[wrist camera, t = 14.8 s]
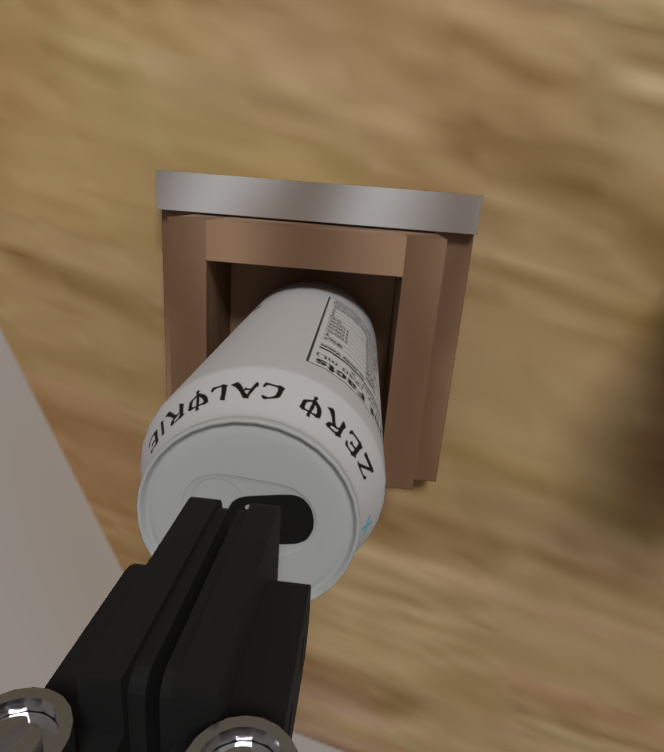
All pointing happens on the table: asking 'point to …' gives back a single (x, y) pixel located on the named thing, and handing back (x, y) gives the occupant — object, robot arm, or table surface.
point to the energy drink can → (279, 432)
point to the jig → (332, 266)
